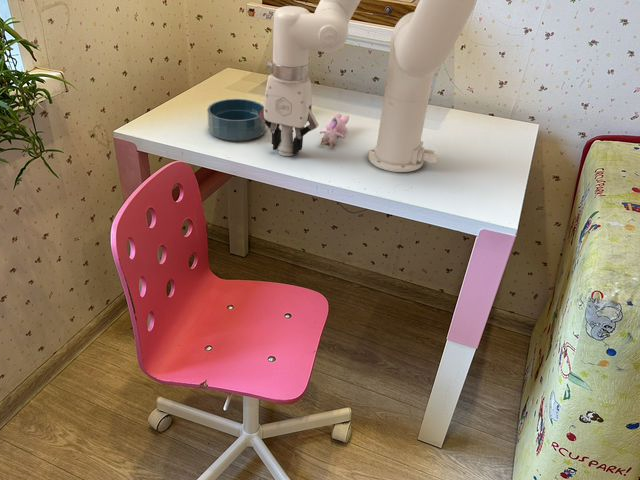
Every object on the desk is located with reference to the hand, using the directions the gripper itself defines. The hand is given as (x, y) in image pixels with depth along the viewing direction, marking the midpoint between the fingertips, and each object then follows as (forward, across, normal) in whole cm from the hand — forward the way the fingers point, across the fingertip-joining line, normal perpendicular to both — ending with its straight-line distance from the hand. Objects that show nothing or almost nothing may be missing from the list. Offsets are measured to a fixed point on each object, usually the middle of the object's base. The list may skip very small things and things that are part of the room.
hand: (286, 149), depth 130 cm
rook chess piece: (+1, 0, 0) cm, 1 cm away
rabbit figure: (+1, +7, +14) cm, 16 cm away
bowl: (+1, -16, +6) cm, 17 cm away
